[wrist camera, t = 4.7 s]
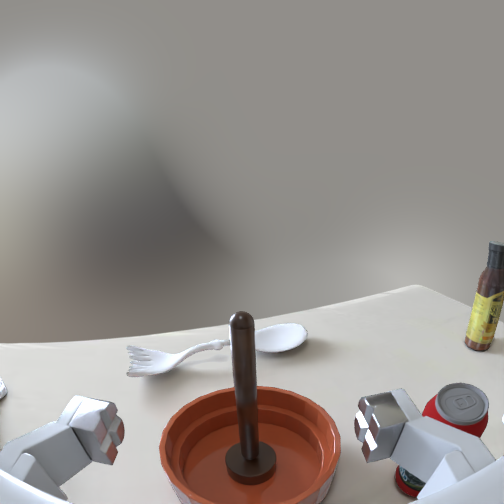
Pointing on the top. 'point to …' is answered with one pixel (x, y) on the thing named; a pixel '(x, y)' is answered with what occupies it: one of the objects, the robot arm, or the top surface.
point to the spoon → (265, 341)
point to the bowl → (270, 432)
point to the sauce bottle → (487, 300)
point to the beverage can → (450, 422)
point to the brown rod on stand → (247, 408)
